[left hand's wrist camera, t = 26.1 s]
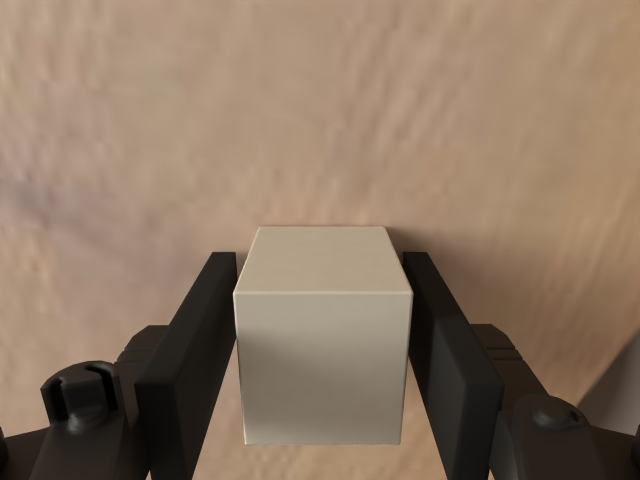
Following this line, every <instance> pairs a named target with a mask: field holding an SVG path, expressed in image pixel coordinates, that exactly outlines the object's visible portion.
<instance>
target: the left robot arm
mask: <svg viewBox="0 0 640 480" xmlns="http://www.w3.org/2000/svg"><path fill="white" fill-rule="evenodd" d="M403 270H404V273H405V275H406V277H407V279H408V282H409V284H410V286H411V289H412V291H413V304H412V316H411V327H410V339H409V350H408V355H409V358H410V362H411V365H412V368H413V371H414V374H415V377H416V381H417V384H418V387H419V390H420V393H421V397H422V400H423V403H424V406H425V409H426V412H427V416H428V419H429V422H430V425H431V428H432V432H433V435H434V438H435V441H436V444H437V447H438V451H439V454H440V457H441V460H442V463H443V467H444V470H445V473H446V476H447V479H448V480H488V476H489V470H491V472H492V474H493V477H494V479H495V480H640V425H639V426H638V429H637V432H636V435H635V436H633V435H628V434H624V433H620V432H615V431H611V430H606V429H602V428H599V427H595V426H592V425H590V423H589V422H588V420H587V419H586V417H585V416H584V414H583V413H582V412H580V411H579V410H578V409H577V408H576V407H574V406H573V405H572V404H570V403H568V402H566V401H564V400H562V399H560V398H557V397H554V396H550V395H549V394H548V393H547V391H546V390H545V389H544V387H543V386H542V384H541V383H540V382H539V380H538V379H537V377H536V376H535V375H534V373H533V372H532V370H531V369H530V368H529V366H528V365H527V363H526V362H525V360H523V359H522V356H521V355H520V353H519V352H518V351H517V350H515V346H514V345H513V344H512V342H511V341H510V339H509V338H508V337H507V335H506V334H504V333H503V332H502V331H500V330H499V329H497V328H496V327H494V326H493V325H492V324H469V322H468V320H467V319H466V317H465V315H464V314H463V312H462V310H461V309H460V307H459V305H458V304H457V302H456V300H455V299H454V297H453V295H452V294H451V292H450V290H449V289H448V287H447V285H446V284H445V282H444V280H443V279H442V277H441V275H440V274H439V272H438V270H437V269H436V267H435V265H434V264H433V262H432V260H431V259H430V257H429V255H428V254H427V252H404V256H403ZM237 282H238V279H237V266H236V253H235V252H212V254H211V256H210V257H209V259H208V261H207V262H206V264H205V266H204V267H203V269H202V271H201V272H200V274H199V276H198V277H197V279H196V281H195V282H194V284H193V286H192V287H191V289H190V291H189V292H188V294H187V296H186V297H185V299H184V301H183V302H182V304H181V306H180V308H179V309H178V311H177V313H176V314H175V316H174V318H173V319H172V321H171V323H170V324H169V325H148V326H147V327H146V328H144V329H143V330H141V331H140V332H139V333H137V334H136V335H134V336H133V337H132V339H131V340H130V342H129V343H128V344H127V346H126V347H125V349H124V351H122V353H121V354H120V356H119V357H118V359H117V362H115V363H114V364H112V363H109V362H105V361H86V362H82V363H78V364H74V365H71V366H69V367H67V368H65V369H63V370H60V371H58V372H57V373H56V374H54V375H53V376H52V377H50V378H49V379H47V381H46V382H45V383H44V385H43V386H42V387H41V389H40V390H41V394H42V397H43V401H44V404H45V408H46V411H47V415H48V418H49V422H50V426H49V427H47V428H44V429H40V430H37V431H32V432H28V433H24V434H19V435H15V436H11V437H6V438H4V435H3V432H2V429H1V427H0V480H146V477H147V475H148V473H149V470H150V474H151V479H152V480H192V477H193V474H194V471H195V468H196V464H197V461H198V458H199V455H200V452H201V448H202V445H203V442H204V439H205V436H206V433H207V429H208V426H209V423H210V420H211V417H212V413H213V410H214V407H215V404H216V401H217V398H218V394H219V391H220V388H221V385H222V382H223V378H224V375H225V372H226V369H227V366H228V362H229V359H230V356H231V353H232V350H233V347H234V343H235V340H236V325H235V313H234V300H233V292H234V290H235V287H236V285H237Z"/></svg>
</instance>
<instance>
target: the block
mask: <svg viewBox="0 0 640 480" xmlns="http://www.w3.org/2000/svg"><path fill="white" fill-rule="evenodd" d="M233 300H234V313H235V325H236V338H237V351H238V363H239V376H240V389H241V401H242V414H243V427H244V439H245V444H246V445H399V444H400V442H401V431H402V419H403V408H404V396H405V385H406V373H407V362H408V350H409V339H410V327H411V316H412V304H413V291H412V289H411V286H410V284H409V282H408V279H407V277H406V275H405V273H404V270H403V268H402V266H401V263H400V261H399V259H398V256H397V254H396V252H395V249H394V247H393V245H392V242H391V240H390V238H389V235H388V233H387V231H386V228H385V227H383V226H261V227H259V229H258V231H257V234H256V236H255V239H254V241H253V244H252V247H251V249H250V252H249V254H248V257H247V259H246V262H245V264H244V267H243V269H242V272H241V274H240V277H239V280H238V282H237V285H236V287H235V290H234V292H233Z"/></svg>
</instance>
